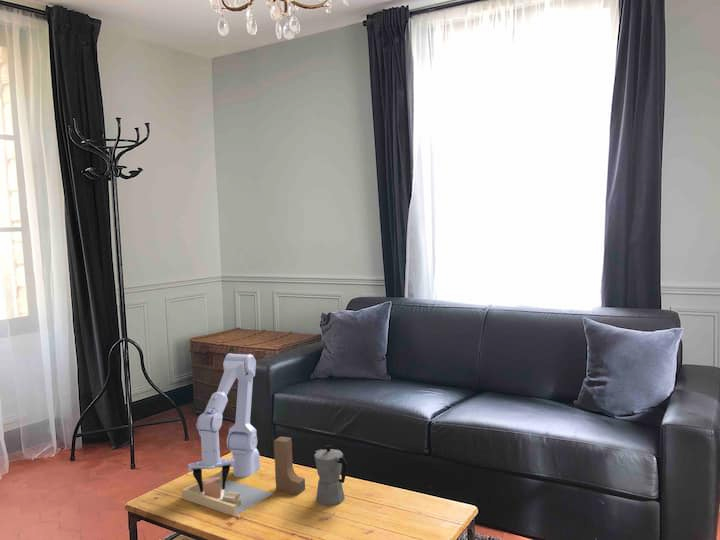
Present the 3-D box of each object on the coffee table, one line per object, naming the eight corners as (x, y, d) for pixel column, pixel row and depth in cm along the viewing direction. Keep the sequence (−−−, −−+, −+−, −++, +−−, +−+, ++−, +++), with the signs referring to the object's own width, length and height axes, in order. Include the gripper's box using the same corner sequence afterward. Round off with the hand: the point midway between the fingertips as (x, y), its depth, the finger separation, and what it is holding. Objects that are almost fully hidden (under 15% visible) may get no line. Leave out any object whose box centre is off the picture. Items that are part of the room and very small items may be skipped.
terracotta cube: (205, 493, 198) (205, 478, 197) (221, 491, 199) (220, 476, 198) (204, 499, 193) (203, 484, 193) (220, 497, 194) (219, 483, 194)
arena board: (223, 480, 210) (222, 470, 209) (274, 495, 196) (273, 484, 196) (182, 500, 195) (181, 489, 195) (234, 518, 181) (233, 506, 181)
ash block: (229, 503, 190) (229, 491, 190) (240, 504, 189) (240, 492, 188) (223, 509, 186) (222, 496, 186) (234, 510, 185) (233, 498, 185)
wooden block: (305, 491, 199) (303, 438, 198) (299, 496, 195) (296, 443, 194) (282, 487, 203) (280, 435, 201) (275, 492, 199) (273, 440, 197)
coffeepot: (306, 497, 194) (304, 444, 193) (328, 488, 200) (326, 436, 199) (337, 513, 183) (334, 456, 181) (359, 503, 189) (357, 448, 188)
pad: (202, 492, 199) (202, 492, 199) (224, 490, 200) (224, 489, 200) (201, 501, 192) (201, 501, 192) (223, 499, 193) (223, 498, 193)
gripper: (186, 456, 190) (188, 497, 191) (232, 451, 192) (234, 491, 193) (188, 448, 197) (190, 488, 197) (233, 443, 199) (235, 483, 200)
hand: (212, 489), depth 196 cm, fingers open, 6 cm apart
